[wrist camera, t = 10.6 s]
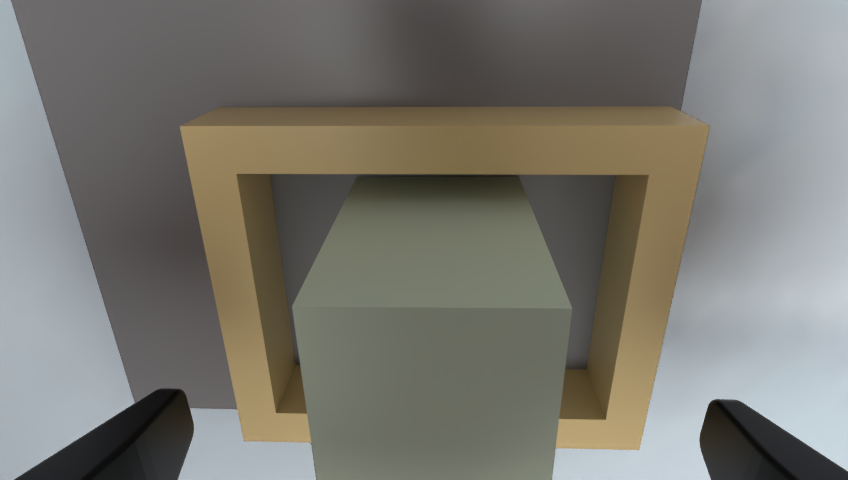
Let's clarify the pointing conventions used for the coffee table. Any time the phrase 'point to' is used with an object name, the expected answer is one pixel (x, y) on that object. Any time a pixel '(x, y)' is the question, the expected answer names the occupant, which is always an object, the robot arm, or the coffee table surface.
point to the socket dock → (365, 170)
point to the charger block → (433, 334)
